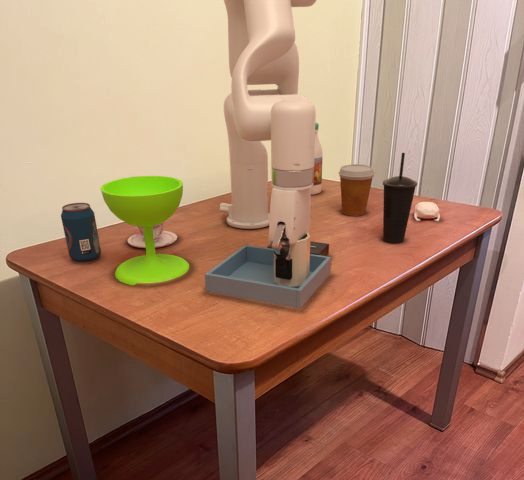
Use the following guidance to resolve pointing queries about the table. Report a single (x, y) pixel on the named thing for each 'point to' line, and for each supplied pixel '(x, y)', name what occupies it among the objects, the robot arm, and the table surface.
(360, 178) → the disposable coffee cup
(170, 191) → the wineglass
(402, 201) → the drinking cup
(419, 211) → the frog figurine
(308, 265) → the cup
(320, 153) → the milk bottle
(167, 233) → the teacup
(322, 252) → the black dial panel
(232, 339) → the table surface
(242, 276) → the tray
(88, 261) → the soda can
